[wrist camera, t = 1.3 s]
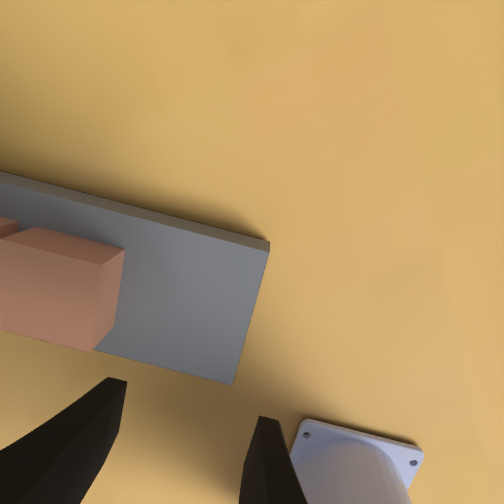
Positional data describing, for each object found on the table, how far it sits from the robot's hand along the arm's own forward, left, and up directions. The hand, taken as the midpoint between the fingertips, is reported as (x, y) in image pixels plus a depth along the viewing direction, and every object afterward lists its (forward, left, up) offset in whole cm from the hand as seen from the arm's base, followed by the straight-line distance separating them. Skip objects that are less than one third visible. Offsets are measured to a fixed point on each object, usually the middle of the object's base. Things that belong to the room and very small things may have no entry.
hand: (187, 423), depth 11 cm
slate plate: (0, +7, -9) cm, 12 cm away
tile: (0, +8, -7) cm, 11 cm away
